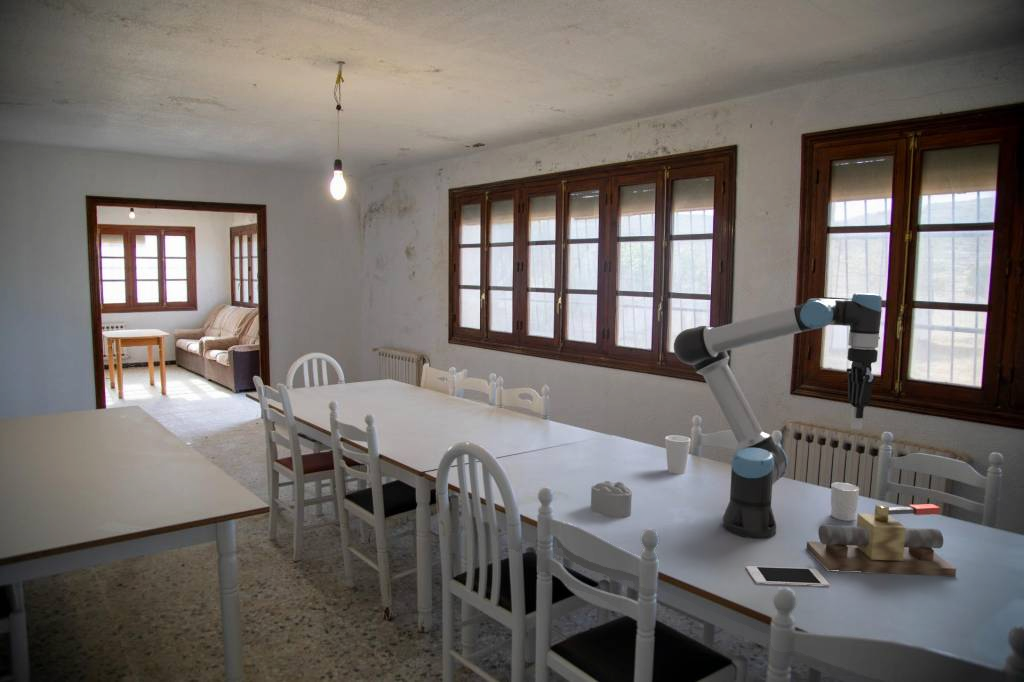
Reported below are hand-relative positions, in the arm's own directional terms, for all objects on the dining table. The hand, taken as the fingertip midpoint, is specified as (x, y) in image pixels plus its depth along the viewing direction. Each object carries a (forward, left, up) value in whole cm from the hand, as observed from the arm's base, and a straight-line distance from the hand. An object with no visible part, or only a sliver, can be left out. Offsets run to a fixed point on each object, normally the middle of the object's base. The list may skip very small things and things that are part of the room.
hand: (856, 428), depth 189 cm
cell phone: (-28, -29, -33) cm, 52 cm away
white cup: (+5, +14, -32) cm, 36 cm away
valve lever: (+7, -16, -20) cm, 27 cm away
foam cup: (-39, +56, -32) cm, 76 cm away
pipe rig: (0, -18, -32) cm, 37 cm away
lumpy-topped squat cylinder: (-68, +13, -33) cm, 76 cm away
